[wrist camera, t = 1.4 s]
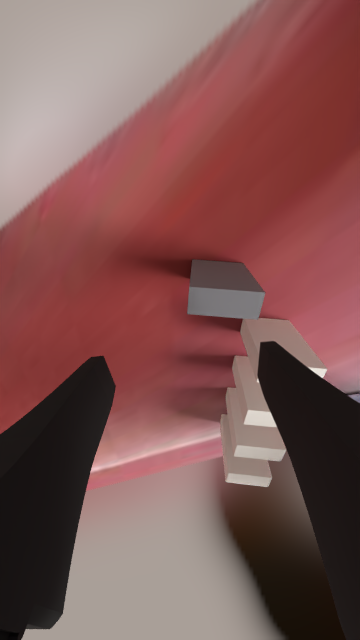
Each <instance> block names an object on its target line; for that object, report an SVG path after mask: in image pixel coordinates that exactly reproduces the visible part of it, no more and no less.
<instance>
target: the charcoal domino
mask: <svg viewBox="0 0 360 640" xmlns="http://www.w3.org/2000/svg"><path fill="white" fill-rule="evenodd" d="M264 295H265V292H264V290H263V289H262V288H261V286H260V285H259V284H258V282H257V281H256V280H255V278H254V277H253V276H252V274H251V273H250V272H249V270H248V269H247V268H246V266H245V265H244V264H243V263H235V262H222V261H208V260H194V259H192V267H191V277H190V286H189V299H188V311H187V314H194V315H206V316H218V317H230V318H242V319H254V320H258V318H259V314H260V311H261V307H262V303H263V299H264Z"/></svg>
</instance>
